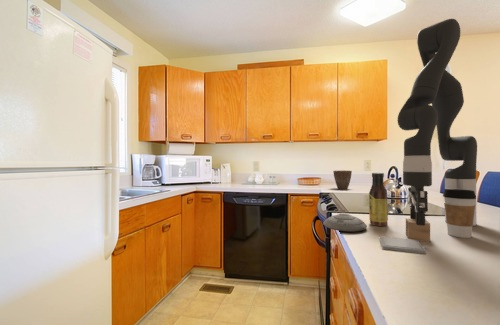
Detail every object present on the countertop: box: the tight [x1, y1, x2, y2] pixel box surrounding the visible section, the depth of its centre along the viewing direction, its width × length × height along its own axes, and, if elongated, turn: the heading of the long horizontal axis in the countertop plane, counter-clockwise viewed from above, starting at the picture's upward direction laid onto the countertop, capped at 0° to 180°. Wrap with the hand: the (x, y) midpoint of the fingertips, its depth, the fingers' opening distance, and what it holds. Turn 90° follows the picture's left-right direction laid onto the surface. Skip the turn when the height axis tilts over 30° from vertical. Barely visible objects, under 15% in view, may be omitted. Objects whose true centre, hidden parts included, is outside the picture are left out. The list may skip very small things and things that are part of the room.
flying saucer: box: [322, 213, 368, 233], centre depth 92 cm, size 15×15×6 cm
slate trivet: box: [379, 235, 426, 255], centre depth 72 cm, size 10×10×1 cm
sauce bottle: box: [368, 172, 389, 227], centre depth 96 cm, size 7×6×20 cm
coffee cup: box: [442, 188, 477, 239], centre depth 81 cm, size 8×8×15 cm
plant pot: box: [332, 170, 353, 191], centre depth 214 cm, size 15×15×16 cm
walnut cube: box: [405, 218, 431, 242], centre depth 79 cm, size 6×6×6 cm
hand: (417, 222), depth 79 cm, fingers open, 8 cm apart
